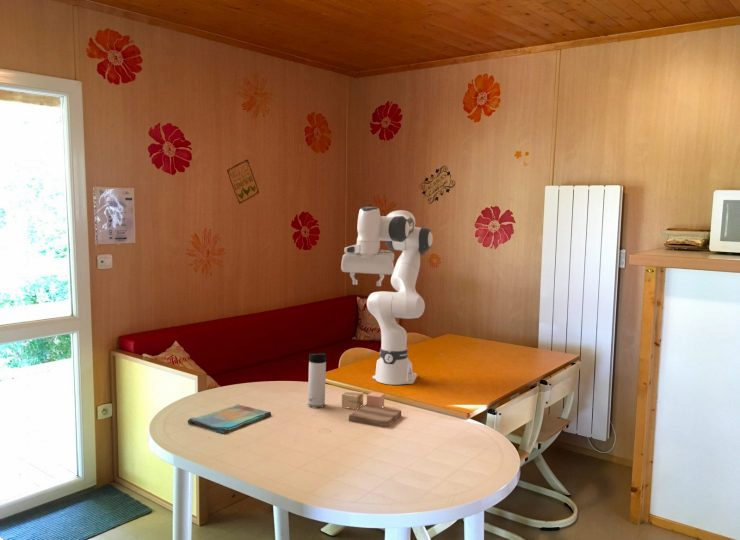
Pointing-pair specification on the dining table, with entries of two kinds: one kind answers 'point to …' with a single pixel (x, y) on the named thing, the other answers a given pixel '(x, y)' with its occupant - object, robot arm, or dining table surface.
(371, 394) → the terracotta block
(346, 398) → the oak block
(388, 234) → the robot arm
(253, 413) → the dish towel
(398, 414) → the base board
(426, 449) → the dining table surface
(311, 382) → the travel mug
